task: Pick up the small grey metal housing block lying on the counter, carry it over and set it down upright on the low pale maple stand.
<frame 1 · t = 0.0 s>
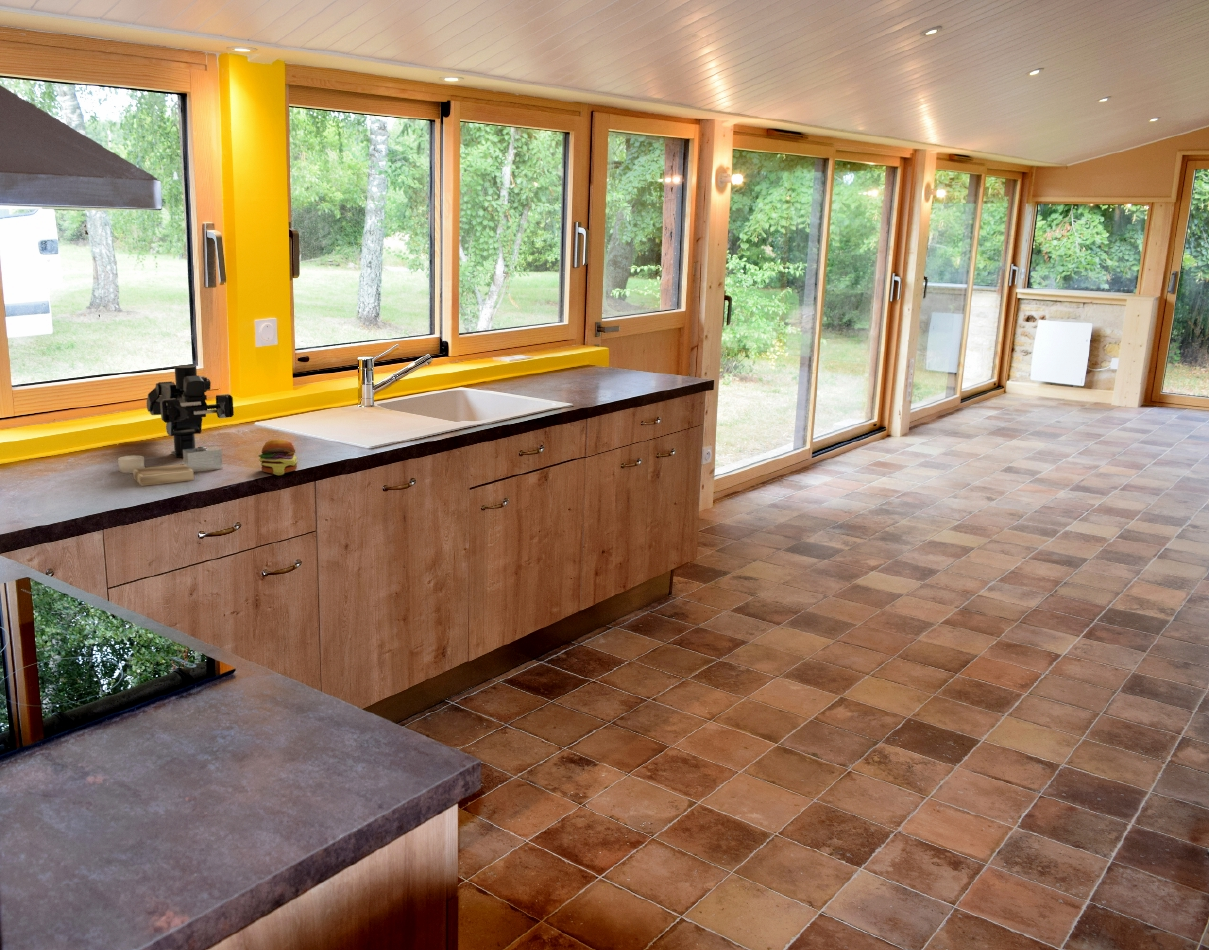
hand: (205, 413, 287), 17 cm above the counter, fingers open, 9 cm apart
housing: (203, 469, 296), on the counter
stand: (163, 479, 283), on the counter
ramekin: (132, 470, 292), on the counter
cheeseburger: (278, 471, 296), on the counter
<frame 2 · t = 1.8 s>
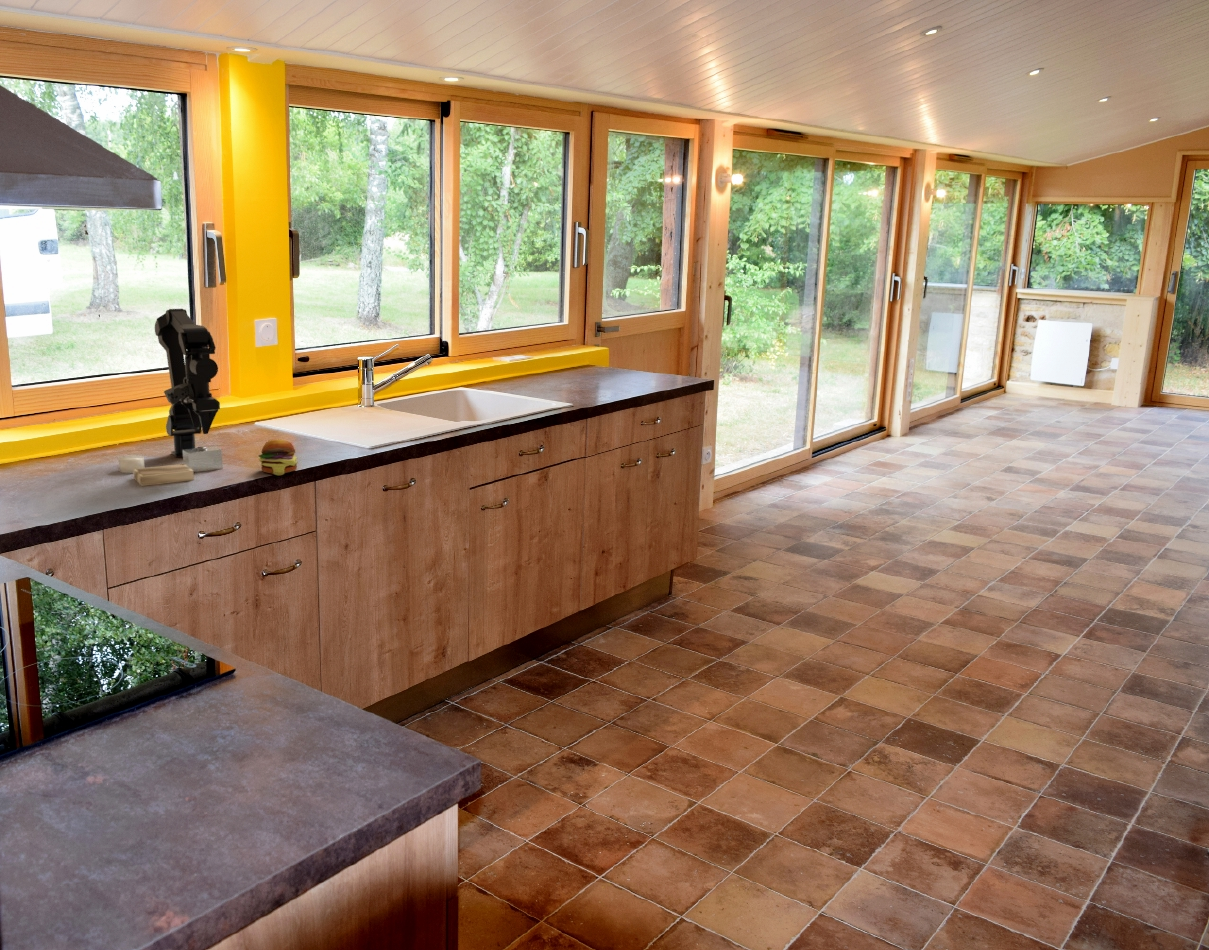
hand: (200, 430, 293), 11 cm above the counter, fingers open, 9 cm apart
nothing on the counter moved.
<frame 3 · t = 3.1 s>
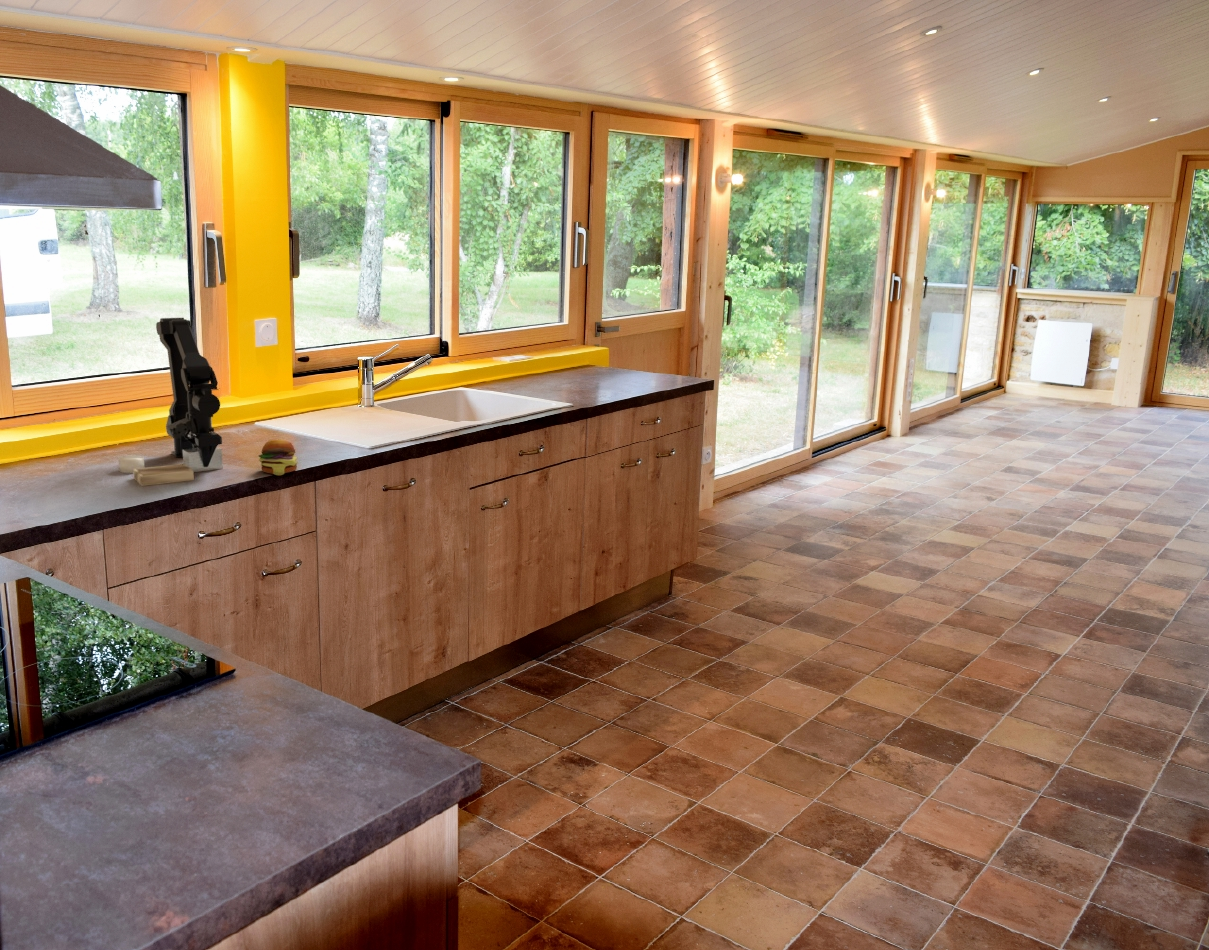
hand: (203, 464, 295), 1 cm above the counter, fingers closed on housing, 5 cm apart
housing: (203, 468, 296), on the counter, touching gripper
everything else where it was.
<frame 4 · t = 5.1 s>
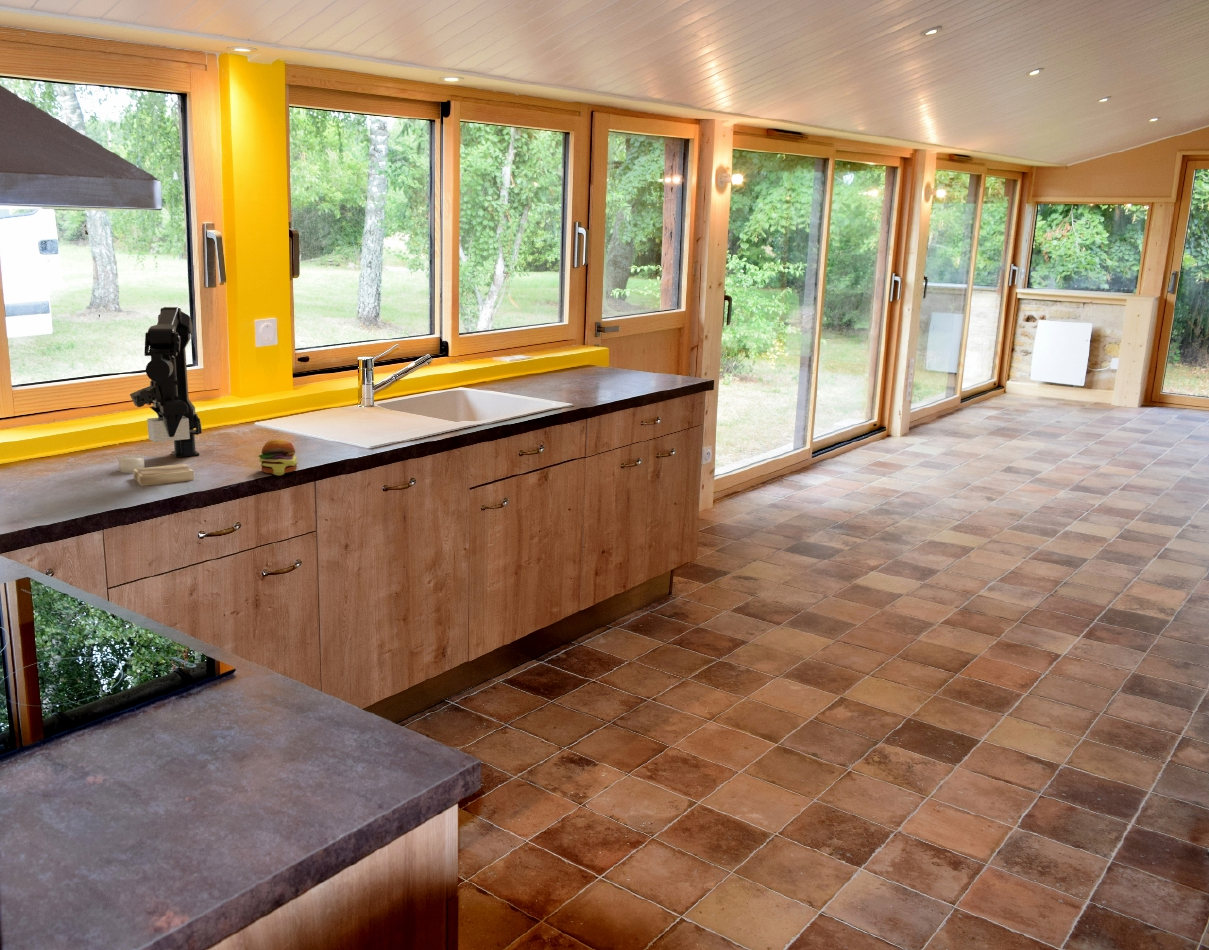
hand: (168, 435, 282), 12 cm above the counter, fingers closed on housing, 5 cm apart
housing: (169, 439, 283), point 10 cm above the counter, touching gripper
everything else where it was.
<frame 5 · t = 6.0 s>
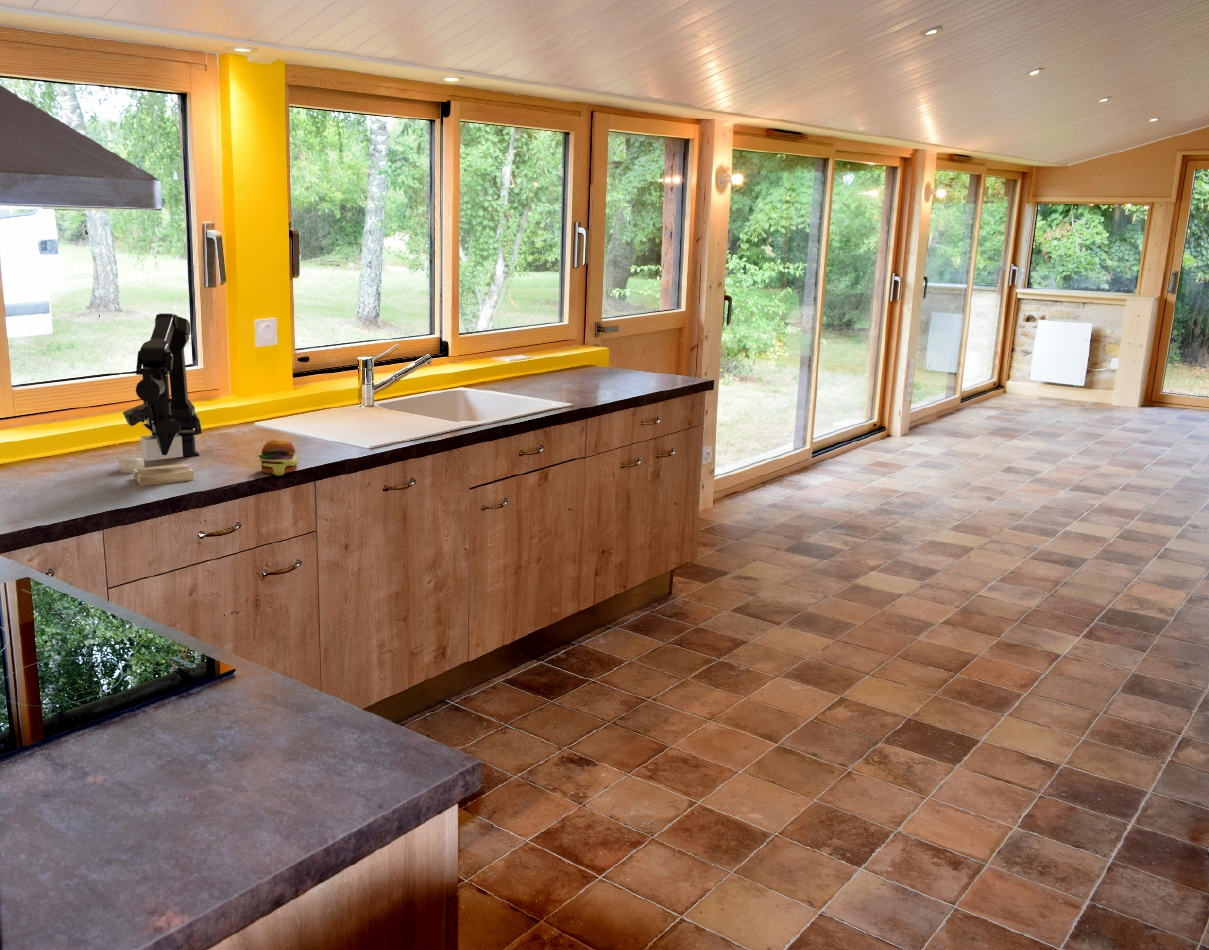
hand: (162, 453, 282), 7 cm above the counter, fingers closed on housing, 5 cm apart
housing: (162, 456, 282), point 6 cm above the counter, touching gripper
everything else where it was.
when the fingers open (5 cm above the counter, at t = 6.8 s): housing drops 1 cm, resting on stand.
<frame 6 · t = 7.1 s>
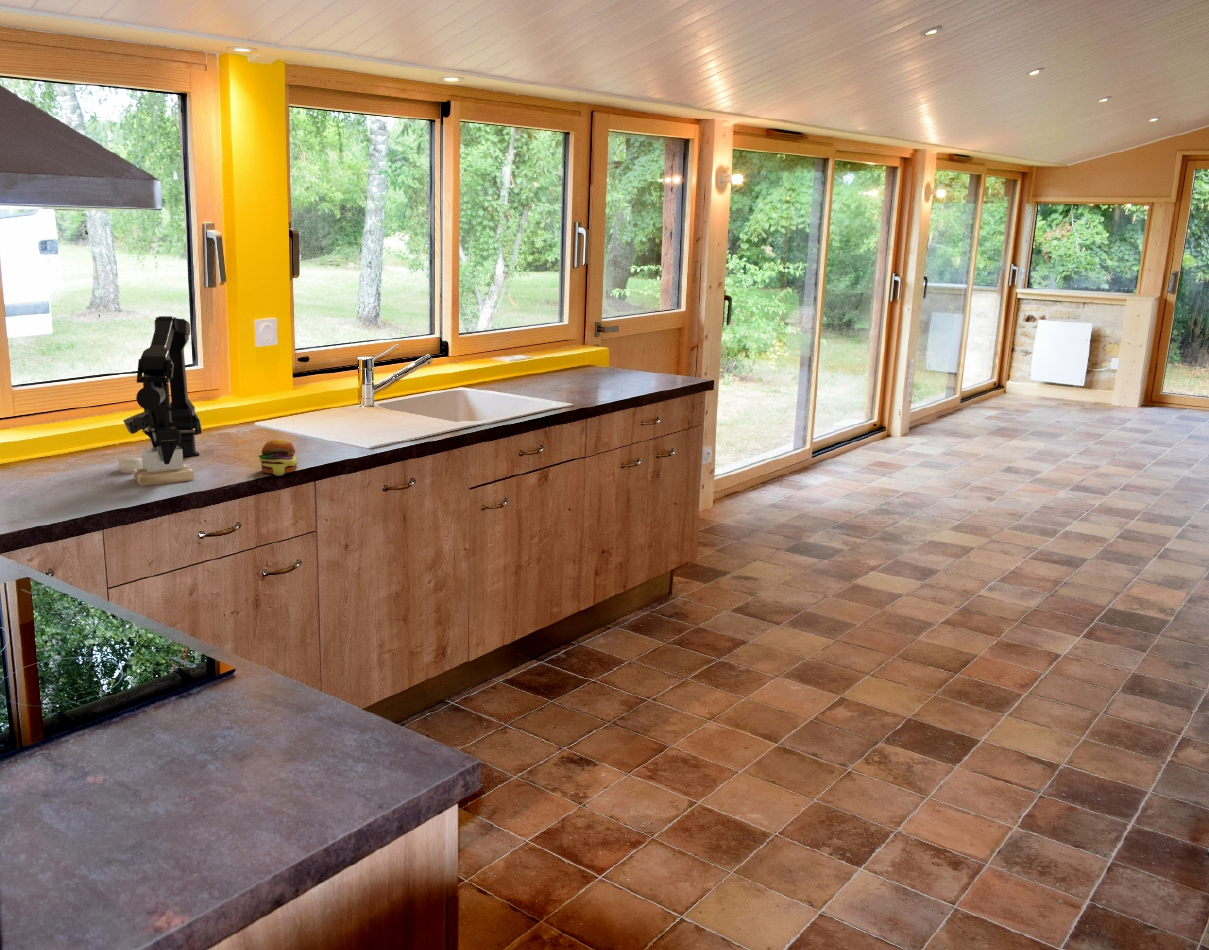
hand: (162, 460, 282), 5 cm above the counter, fingers open, 9 cm apart
housing: (163, 469, 283), point 3 cm above the counter, touching stand
everything else where it was.
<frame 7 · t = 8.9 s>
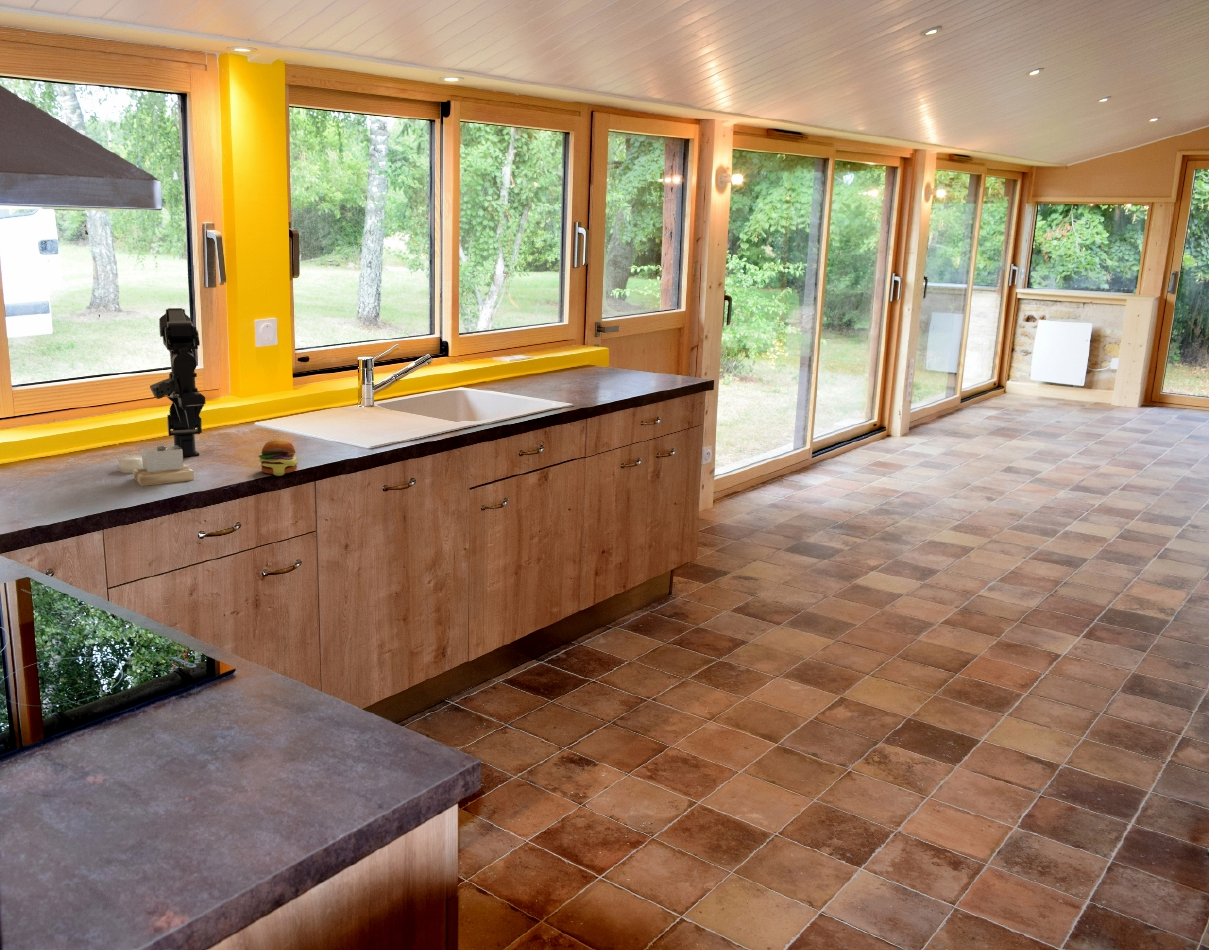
hand: (186, 425, 293), 12 cm above the counter, fingers open, 9 cm apart
nothing on the counter moved.
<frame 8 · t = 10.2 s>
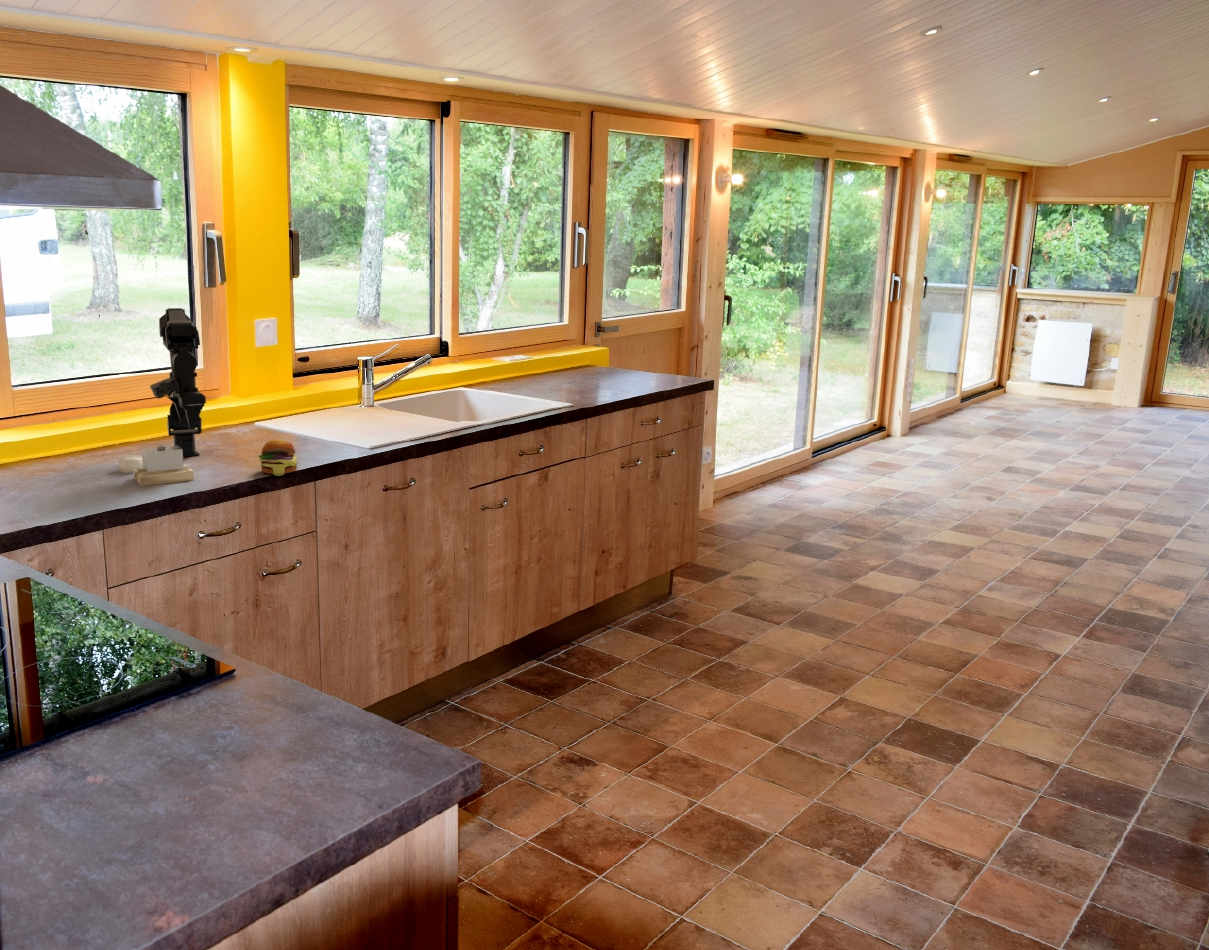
hand: (187, 425, 293), 12 cm above the counter, fingers open, 9 cm apart
nothing on the counter moved.
at the end: housing inside the target area on the stand (0.1 cm from its centre), point 2.6 cm above the stand's base; housing tilted 0°; the gripper is holding nothing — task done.
